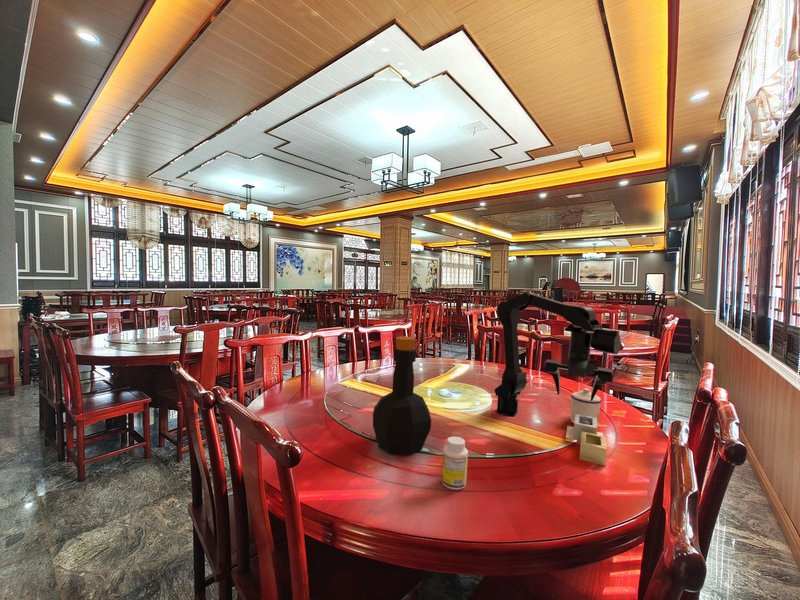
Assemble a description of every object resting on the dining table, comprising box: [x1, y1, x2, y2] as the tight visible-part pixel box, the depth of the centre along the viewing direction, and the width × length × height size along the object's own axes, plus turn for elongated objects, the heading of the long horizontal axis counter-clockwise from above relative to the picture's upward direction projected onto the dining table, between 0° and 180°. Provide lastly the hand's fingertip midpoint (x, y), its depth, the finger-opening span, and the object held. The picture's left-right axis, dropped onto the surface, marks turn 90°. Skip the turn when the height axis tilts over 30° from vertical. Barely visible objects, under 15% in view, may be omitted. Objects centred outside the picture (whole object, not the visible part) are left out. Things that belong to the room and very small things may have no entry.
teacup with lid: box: [569, 387, 602, 427], centre depth 125 cm, size 12×9×12 cm
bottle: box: [372, 335, 432, 456], centre depth 99 cm, size 16×16×30 cm
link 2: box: [579, 431, 608, 466], centre depth 100 cm, size 9×6×4 cm, turn 152°
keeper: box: [565, 421, 604, 445], centre depth 110 cm, size 10×10×5 cm
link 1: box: [573, 414, 598, 440], centre depth 110 cm, size 9×6×4 cm, turn 153°
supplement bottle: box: [441, 436, 469, 491], centre depth 82 cm, size 6×6×10 cm
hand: (574, 397), depth 112 cm, fingers open, 9 cm apart
